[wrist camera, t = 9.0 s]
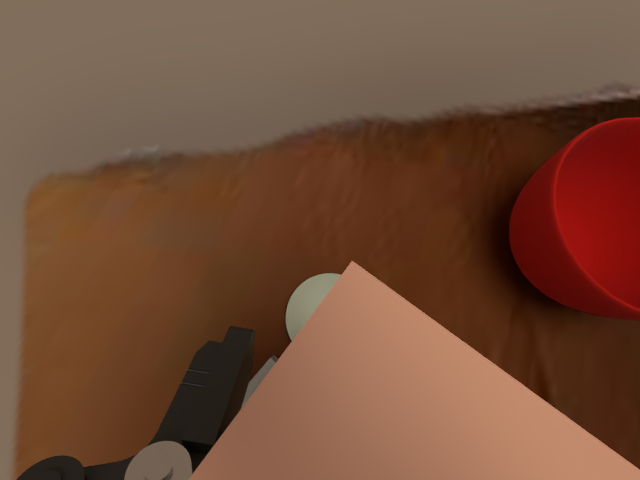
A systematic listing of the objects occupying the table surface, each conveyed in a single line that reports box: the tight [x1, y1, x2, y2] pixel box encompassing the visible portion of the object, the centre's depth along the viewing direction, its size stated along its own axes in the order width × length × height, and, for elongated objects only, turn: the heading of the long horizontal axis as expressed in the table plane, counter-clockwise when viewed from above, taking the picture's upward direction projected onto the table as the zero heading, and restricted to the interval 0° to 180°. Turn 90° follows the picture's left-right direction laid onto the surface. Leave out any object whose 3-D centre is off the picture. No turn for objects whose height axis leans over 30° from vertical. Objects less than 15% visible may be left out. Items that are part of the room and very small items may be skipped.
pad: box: [286, 273, 341, 341], centre depth 30 cm, size 7×7×1 cm
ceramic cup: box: [509, 117, 640, 321], centre depth 28 cm, size 13×17×10 cm
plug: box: [188, 261, 640, 480], centre depth 10 cm, size 5×5×14 cm
